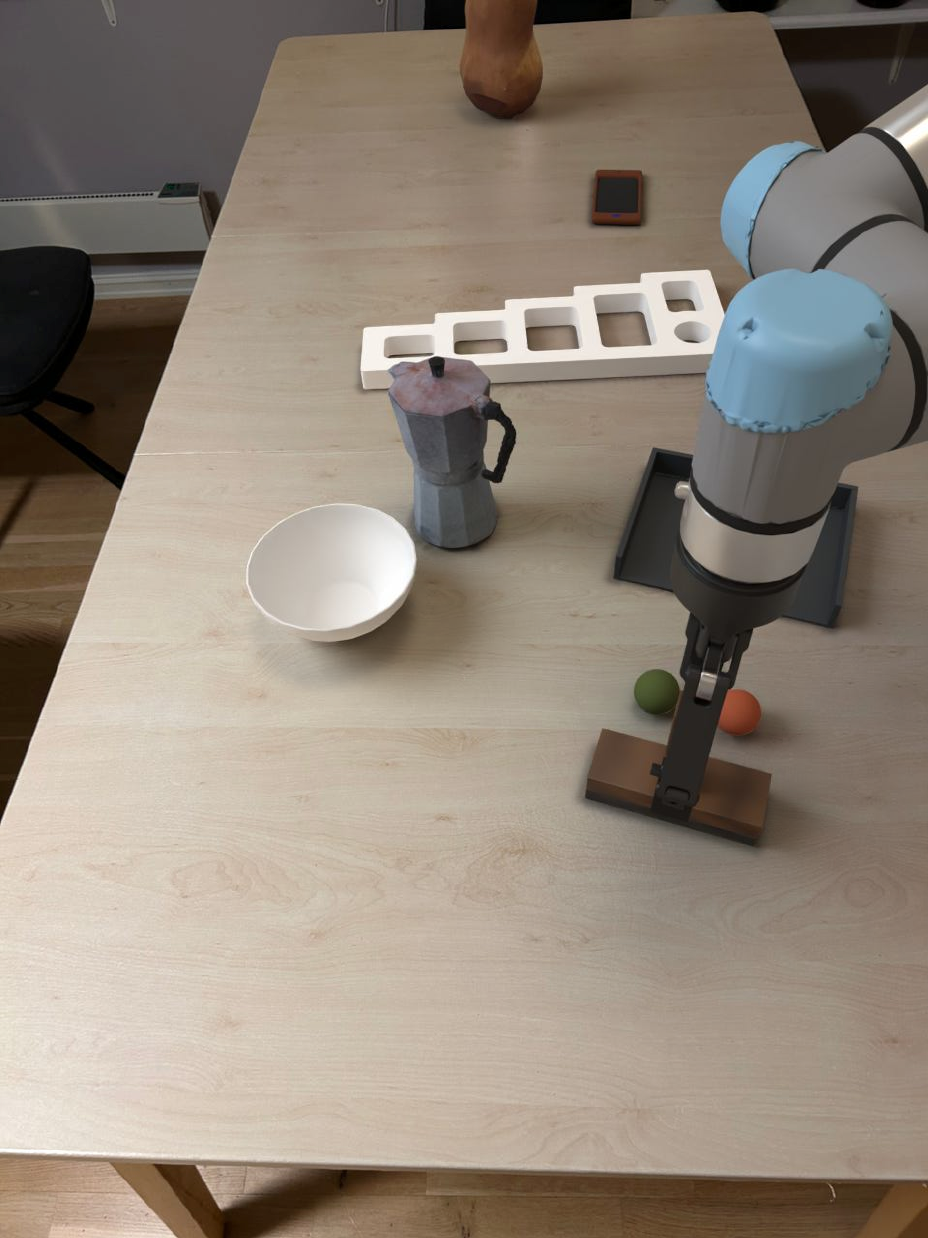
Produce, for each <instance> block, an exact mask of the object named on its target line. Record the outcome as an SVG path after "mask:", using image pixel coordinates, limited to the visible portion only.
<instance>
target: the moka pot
mask: <svg viewBox="0 0 928 1238" xmlns="http://www.w3.org/2000/svg"><path fill="white" fill-rule="evenodd" d="M387 372H388V373H390V374H391V375H392V377H393V378H394V382H393V383H392V385H391V387H390V388H388V393H387V394H388V395H387V396H388V398H389V401H390V404H391V407H392V410H393V413H394V416H395V418H396V419H395V420H396V422H397V425H398V428H399V432H400V436H401V438H402V441H403V445H404V448H405V451H406V453H407V454H408V456H409V457H410V459H411V462H412V465H413V521H414V525H415V528H416V532H417V533H418V536H419V537H420V538H421V539H422V540H424V541H425V542H428V543H429V544H431V545H434V546H436V547H439V548H445V549H458V548H459V549H461V548H465V547H468V546H472V545H475V544H477V543H479V542H481V541H484V540H485V539H487V538H488V537H489V536H491V535H492V533H493V531H494V529H495V527H496V524H497V523H498V517H499V513H498V509H497V505H496V502H495V498H494V494H493V490H492V487H491V483H493V484H500V483H503V480H504V476H505V473H506V472H507V466H508V465H509V460H510V459H511V455H512V453H513V451H514V448H515V445H516V443H517V428H516V427H515V426H514V424H513V421H512V419H511V418H510V416H508V415H506V414H505V412H504V410H503V409H502V404H501V403H500V402H497V401H493V399H492V398H491V384H492V383H491V381H490V379H489V378H488V377H487V376H486V375H485V374H484V373H483V372H482V371H481V370H480V369H479V368H478V367H477V366H476V365H475V364H474V363H473V362H472V361H470V360H464V359H454V358H446V357H440V356H434V357H432V358H429V359H426V360H423V361H421V362H417V363H415V362H405V361H402V362H400V363H399V364H395V365H393V366H392V367H391V368H390V369H388V370H387ZM489 421H496V422H498V423H499V424H500V426H501V427H502V428H503V429H504V435H503V437H502V440H501V445H500V447H499V448H500V449H499V452H498V454H497V455H498V456H497V459H496V465H495V466H494V468H493V471H491V470H490V469H488V468H487V466H486V465H487V464H486V463H485V453H484V451H485V450H484V449H485V447H486V444H487V442H488V430H489V429H488V428H489Z"/></svg>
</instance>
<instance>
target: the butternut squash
mask: <svg viewBox="0 0 928 1238" xmlns="http://www.w3.org/2000/svg"><path fill="white" fill-rule="evenodd" d="M537 7H538V0H465V3H464V16H465V38H464V42H463V47H462V53H461V57H460V62H459V74H460V78H461V81H462V87H463V90H464V94H465V95H466V97H467V98H468V100H469V101H470V103H471V104H472V105H473V106H474V107H475V108H476V109H478V110H479V111H482V112H484V113H488V114H490V115H492V116H494V118H496V119H509V120H511V119H512V118H514V117H515V116H518V115H521V114H524V113H525V112H526V111H528V110H529V109H530V108H531V107H532V106H533V105H534V103H535V102H536V100H537V97H538V95H539V93H540V91H541V88H542V84H543V78H544V65H543V61H542V56H541V52H540V49H539V46H538V43H537V40H536V38H535V32H534V23H535V18H536V13H537Z"/></svg>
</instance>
